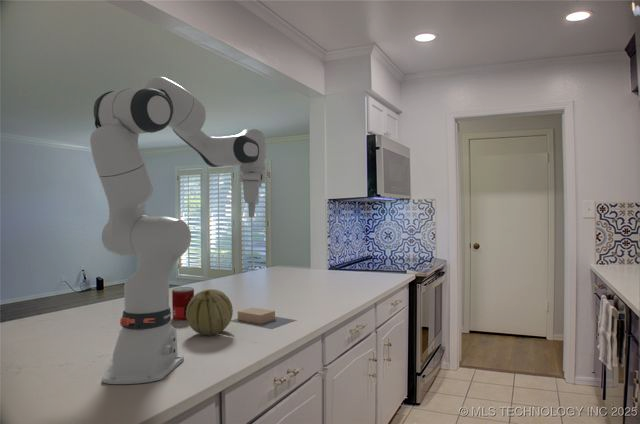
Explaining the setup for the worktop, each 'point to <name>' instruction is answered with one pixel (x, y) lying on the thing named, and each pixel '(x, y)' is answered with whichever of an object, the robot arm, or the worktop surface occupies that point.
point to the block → (256, 315)
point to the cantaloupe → (209, 312)
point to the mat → (270, 324)
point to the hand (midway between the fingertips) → (251, 217)
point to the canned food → (181, 301)
